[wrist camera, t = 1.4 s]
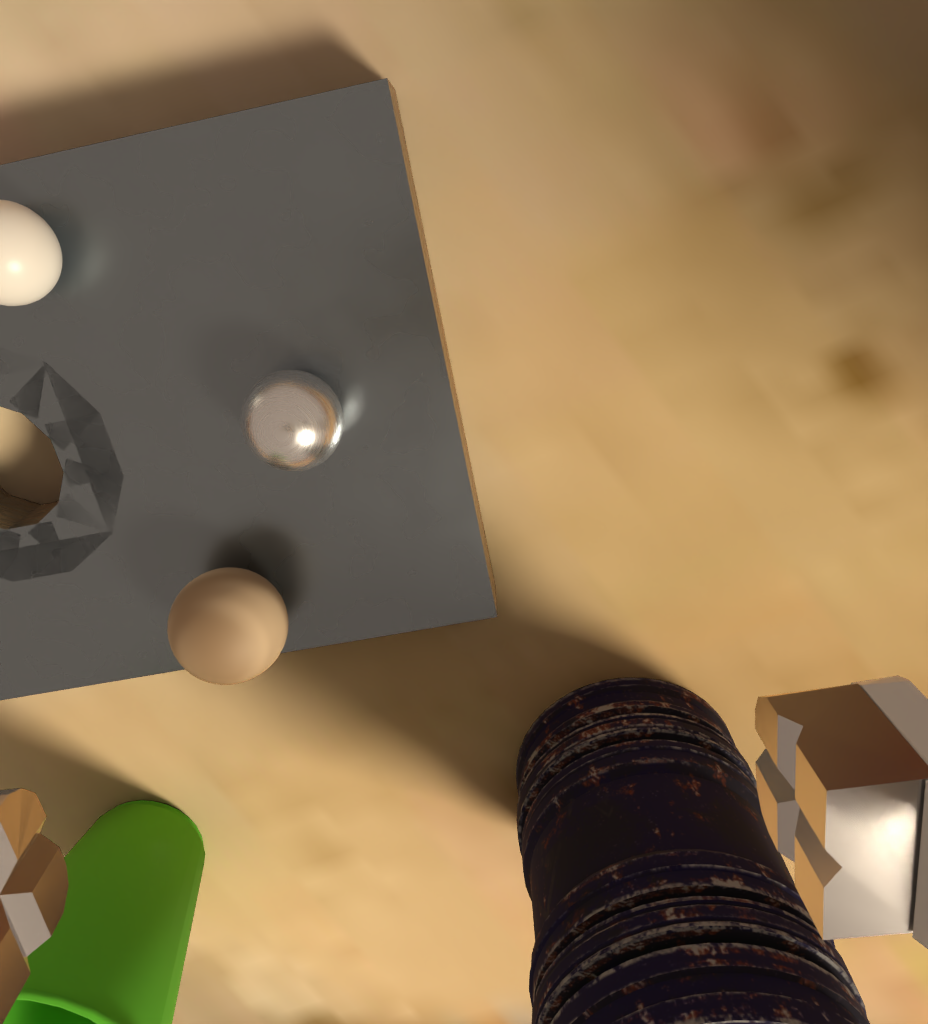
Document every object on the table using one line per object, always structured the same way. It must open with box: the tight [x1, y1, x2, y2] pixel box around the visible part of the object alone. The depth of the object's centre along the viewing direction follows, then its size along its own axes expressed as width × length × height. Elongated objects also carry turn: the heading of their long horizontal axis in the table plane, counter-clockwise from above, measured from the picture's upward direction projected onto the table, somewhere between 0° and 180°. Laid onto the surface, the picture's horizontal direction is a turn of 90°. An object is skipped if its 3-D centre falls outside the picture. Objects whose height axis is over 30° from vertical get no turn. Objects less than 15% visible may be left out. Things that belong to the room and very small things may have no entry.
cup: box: [3, 800, 205, 1024], centre depth 32 cm, size 9×9×11 cm
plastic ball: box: [0, 199, 62, 306], centre depth 23 cm, size 3×3×3 cm
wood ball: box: [167, 567, 288, 685], centre depth 27 cm, size 4×4×4 cm
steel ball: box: [240, 370, 344, 471], centre depth 25 cm, size 3×3×3 cm
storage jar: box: [516, 678, 870, 1024], centre depth 28 cm, size 10×10×15 cm
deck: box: [0, 78, 497, 700], centre depth 28 cm, size 22×18×2 cm
